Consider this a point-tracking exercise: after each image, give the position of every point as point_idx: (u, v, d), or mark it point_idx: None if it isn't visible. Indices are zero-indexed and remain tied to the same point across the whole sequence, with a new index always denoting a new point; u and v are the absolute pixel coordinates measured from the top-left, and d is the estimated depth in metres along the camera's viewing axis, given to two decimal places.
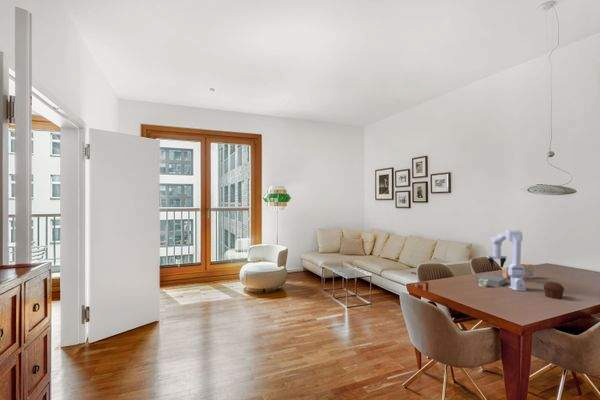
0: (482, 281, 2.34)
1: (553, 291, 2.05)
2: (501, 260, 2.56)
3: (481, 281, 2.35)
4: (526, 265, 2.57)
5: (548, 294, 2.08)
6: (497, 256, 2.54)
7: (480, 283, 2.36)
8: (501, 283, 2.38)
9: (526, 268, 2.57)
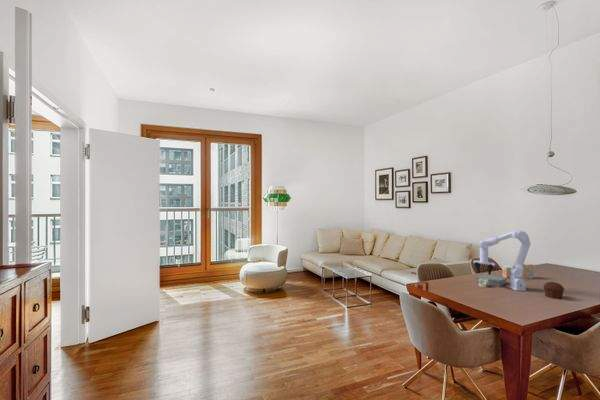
0: (482, 281, 2.34)
1: (553, 291, 2.05)
2: None
3: (481, 281, 2.35)
4: (526, 265, 2.57)
5: (548, 294, 2.08)
6: (481, 261, 2.36)
7: (480, 283, 2.36)
8: (501, 283, 2.38)
9: (526, 268, 2.57)
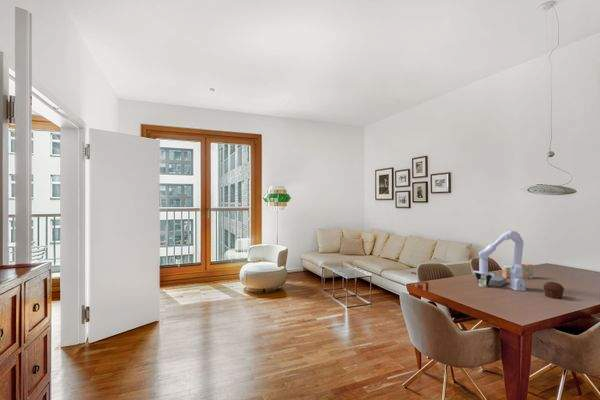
0: (482, 281, 2.34)
1: (553, 291, 2.05)
2: None
3: (481, 281, 2.35)
4: (526, 265, 2.57)
5: (548, 294, 2.08)
6: (481, 272, 2.35)
7: (480, 283, 2.36)
8: (501, 283, 2.38)
9: (526, 268, 2.57)
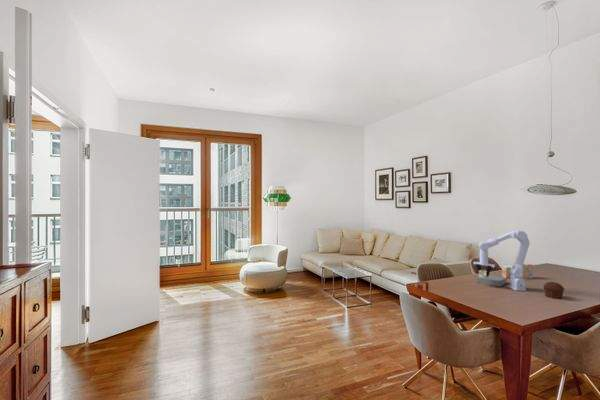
0: (482, 272, 2.35)
1: (553, 291, 2.05)
2: None
3: (481, 272, 2.35)
4: (525, 265, 2.57)
5: (548, 294, 2.08)
6: (481, 263, 2.35)
7: (480, 274, 2.36)
8: (501, 283, 2.38)
9: (525, 268, 2.57)
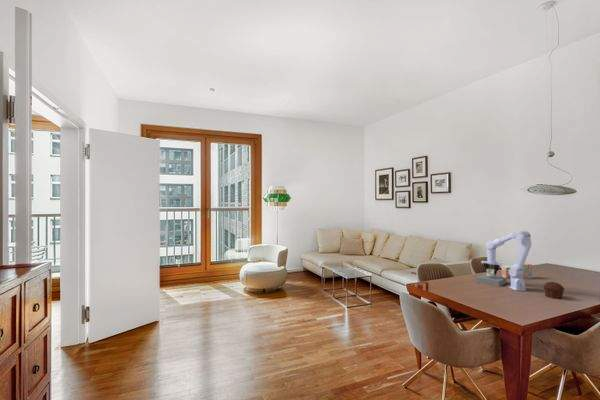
0: (490, 271, 2.44)
1: (553, 291, 2.05)
2: None
3: (489, 271, 2.44)
4: (525, 265, 2.58)
5: (548, 294, 2.08)
6: (489, 262, 2.45)
7: (488, 273, 2.45)
8: (501, 283, 2.38)
9: (525, 268, 2.58)
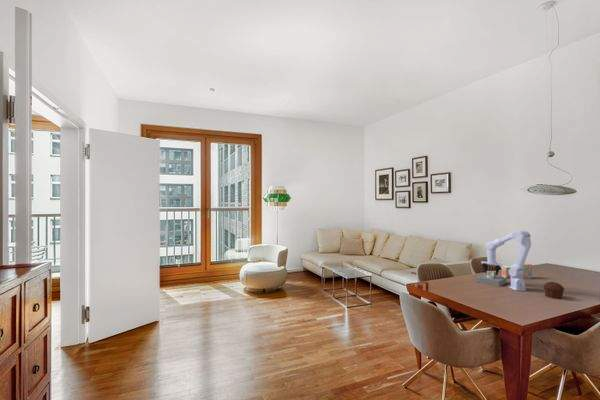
0: (490, 273, 2.44)
1: (553, 291, 2.05)
2: None
3: (489, 273, 2.44)
4: (525, 265, 2.58)
5: (548, 294, 2.08)
6: (489, 262, 2.45)
7: (488, 275, 2.45)
8: (501, 283, 2.38)
9: (525, 268, 2.58)
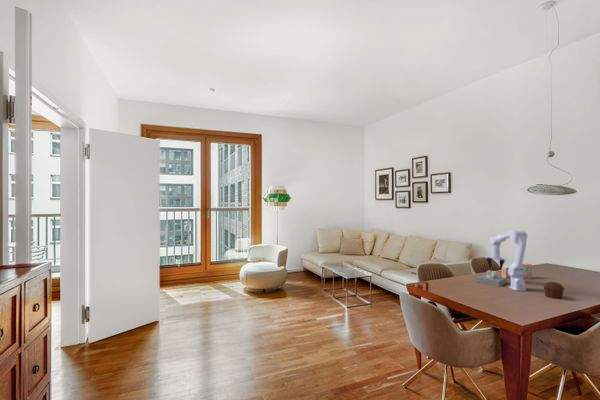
0: (490, 273, 2.44)
1: (553, 291, 2.05)
2: None
3: (489, 273, 2.44)
4: (525, 265, 2.58)
5: (548, 294, 2.08)
6: (493, 256, 2.50)
7: (488, 275, 2.45)
8: (501, 283, 2.38)
9: (525, 268, 2.58)
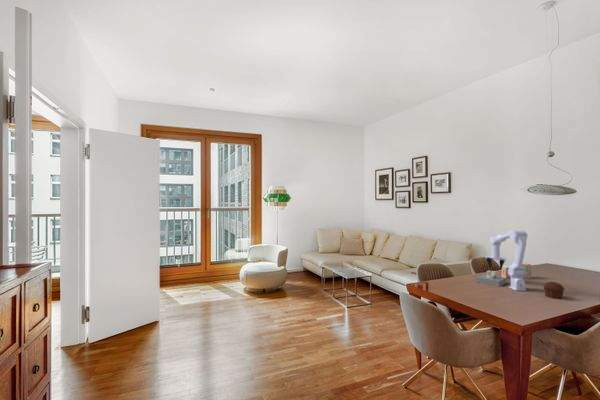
0: (490, 273, 2.44)
1: (553, 291, 2.05)
2: None
3: (489, 273, 2.44)
4: (524, 265, 2.58)
5: (548, 294, 2.08)
6: (493, 256, 2.50)
7: (488, 275, 2.45)
8: (501, 283, 2.38)
9: None
